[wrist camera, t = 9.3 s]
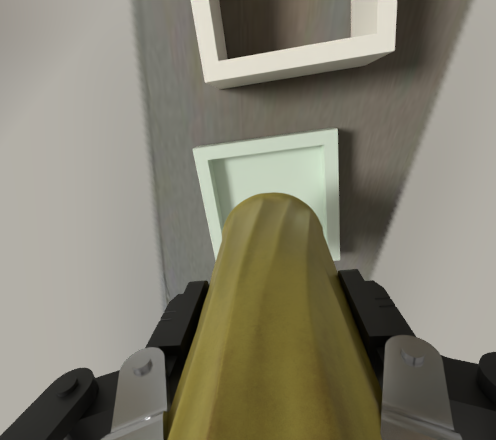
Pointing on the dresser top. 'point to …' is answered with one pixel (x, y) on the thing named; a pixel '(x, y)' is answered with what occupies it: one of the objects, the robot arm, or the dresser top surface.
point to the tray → (272, 177)
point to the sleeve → (299, 58)
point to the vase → (276, 338)
